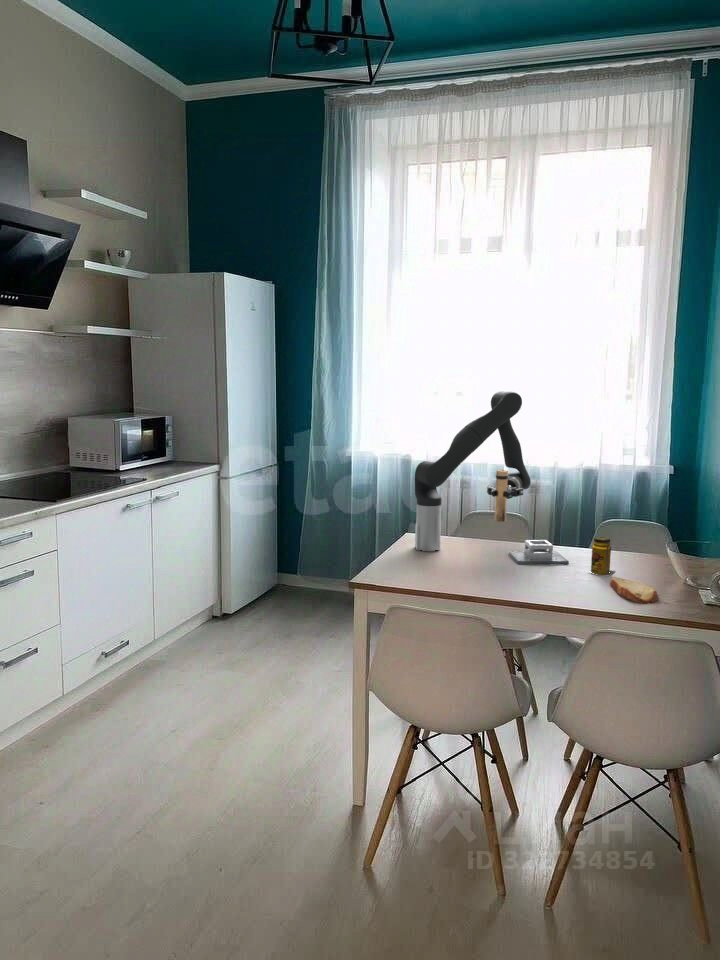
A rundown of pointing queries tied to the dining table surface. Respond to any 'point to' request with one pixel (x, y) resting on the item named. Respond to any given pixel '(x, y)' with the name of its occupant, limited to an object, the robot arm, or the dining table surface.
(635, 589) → the slice of bread
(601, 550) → the condiment
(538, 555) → the grey socket base
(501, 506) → the wooden peg
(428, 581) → the dining table surface
